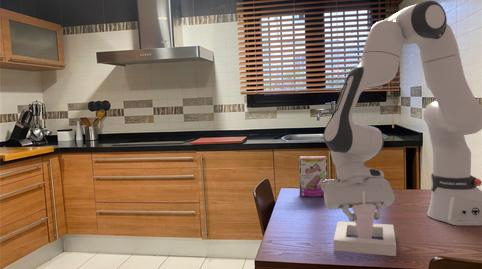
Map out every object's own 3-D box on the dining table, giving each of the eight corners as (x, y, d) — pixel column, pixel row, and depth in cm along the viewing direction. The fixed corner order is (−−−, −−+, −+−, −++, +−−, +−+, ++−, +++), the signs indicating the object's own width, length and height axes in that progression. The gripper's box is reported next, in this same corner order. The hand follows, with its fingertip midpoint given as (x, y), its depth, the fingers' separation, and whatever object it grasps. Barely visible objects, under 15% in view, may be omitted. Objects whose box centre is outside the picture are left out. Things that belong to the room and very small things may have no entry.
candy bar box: (300, 197, 162) (299, 158, 160) (299, 194, 167) (298, 156, 165) (327, 197, 161) (327, 157, 159) (326, 194, 166) (325, 155, 164)
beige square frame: (393, 234, 118) (393, 224, 118) (396, 256, 103) (396, 245, 103) (338, 230, 123) (338, 221, 123) (333, 250, 108) (333, 240, 108)
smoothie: (376, 235, 115) (375, 188, 113) (376, 244, 109) (375, 194, 107) (353, 234, 117) (352, 187, 115) (352, 242, 111) (351, 193, 109)
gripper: (321, 174, 117) (331, 216, 108) (388, 170, 119) (403, 212, 110) (317, 185, 122) (327, 227, 113) (381, 181, 124) (396, 222, 115)
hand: (365, 219), depth 112 cm, fingers closed on smoothie, 6 cm apart
